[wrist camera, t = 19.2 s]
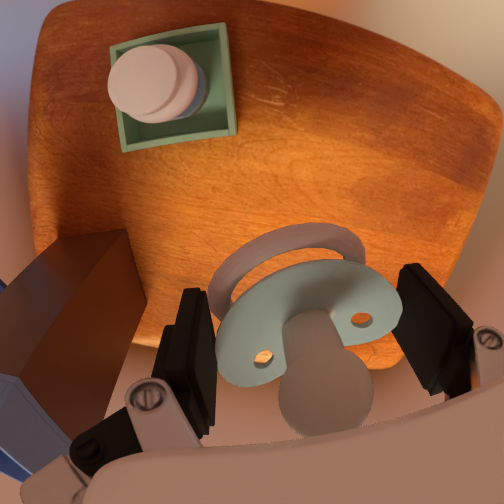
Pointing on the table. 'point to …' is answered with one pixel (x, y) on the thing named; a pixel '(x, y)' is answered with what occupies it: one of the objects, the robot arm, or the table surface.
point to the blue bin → (64, 345)
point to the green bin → (216, 106)
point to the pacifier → (304, 325)
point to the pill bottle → (157, 84)
